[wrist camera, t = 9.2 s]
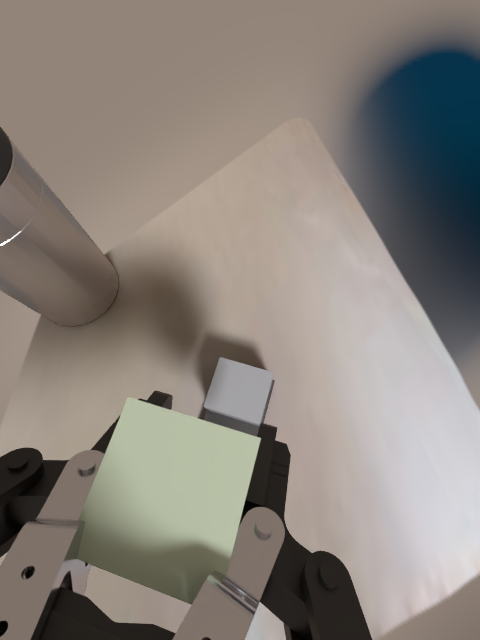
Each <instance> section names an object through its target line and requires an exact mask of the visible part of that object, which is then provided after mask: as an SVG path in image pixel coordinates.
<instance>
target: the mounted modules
mask: <svg viewBox="0 0 480 640" xmlns="http://www.w3.org/2000/svg"><path fill="white" fill-rule="evenodd" d="M273 375H274V372H270V371H267V370H263V369H260V368H257V367H253V366H250V365H246V364H243V363H239V362H236V361H233V360H229V359H226V358H222V357H220V358H219V361H218V364H217V367H216V370H215V373H214V376H213V379H212V382H211V385H210V388H209V391H208V394H207V397H206V400H205V403H204V406H203V407H205V408H206V409H208V410H209V411H212V412H216V413H219V414H222V415H225V416H228V417H231V418H234V419H238V420H241V421H244V422H247V423H250V424H253V425H256V426H260V423H261V420H262V416H263V412H264V409H265V405H266V401H267V397H268V394H269V390H270V386H271V383H272V379H273Z"/></svg>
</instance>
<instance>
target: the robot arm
mask: <svg viewBox="0 0 480 640" xmlns="http://www.w3.org/2000/svg"><path fill="white" fill-rule="evenodd" d="M118 286H119V281H118V275H117V272H116V270H115V268H114V267H113V265H112V264H111V263H110V262H109V260H108V259H107V258H106V257H105V255H104V254H103V253H102V252H101V251H100V249H99V248H98V247H97V246H96V244H95V243H94V242H93V240H92V239H91V238H90V237H89V235H88V234H87V233H86V232H85V231H84V229H83V228H82V227H81V226H80V225H79V223H78V222H77V221H76V219H75V218H74V217H73V216H72V214H71V213H70V212H69V211H68V210H67V208H66V207H65V206H64V205H63V203H62V202H61V201H60V200H59V199H58V197H57V196H56V195H55V194H54V192H53V191H52V190H51V189H50V187H49V186H48V185H47V184H46V183H45V182H44V180H43V179H42V178H41V176H40V175H39V174H38V173H37V172H36V170H35V169H34V168H33V167H32V165H31V164H30V163H29V162H28V160H27V159H26V158H25V157H24V156H23V154H22V153H21V152H20V151H19V149H18V148H17V147H16V146H15V144H14V143H13V142H12V141H11V140H10V138H9V137H8V136H7V135H6V133H5V132H4V131H3V130H2V128H1V127H0V290H1V291H2V292H4V293H6V294H8V295H9V296H11V297H13V298H14V299H16V300H18V301H19V302H21V303H23V304H24V305H26V306H28V307H29V308H31V309H33V310H34V311H36V312H38V313H39V314H41V315H43V316H45V317H46V318H48V319H50V320H51V321H53V322H55V323H57V324H60V325H63V326H78V325H83V324H86V323H89V322H91V321H93V320H95V319H97V318H98V317H100V316H101V315H102V314H103V313H105V312H106V310H107V309H108V308H109V307H110V306H111V304H112V303H113V301H114V300H115V297H116V295H117V292H118ZM139 400H140V401H143V402H146V403H150V404H153V405H156V406H159V407H162V408H166V409H169V410H171V408H172V395H169V394H166V393H163V392H159V391H154V392H153V393H152V395H151V396H150V397H149V398H148V400H147V401H146V400H143V399H139ZM120 416H121V415H120ZM120 416H119V417H118V419H117V420H116V422H114V423H113V424H112V426H111V427H110V428H109V429H108V430H107V431H106V433H105V434H104V435H103V436H102V437H101V438H100V440H99V441H98V442H97V443H96V444H95V445H94V447H93V448H92V449H91V450H87V451H83V452H80V453H78V454H76V455H75V456H73V457H72V458H71V459H70V460H63V461H62V460H43V458H42V454H41V453H40V451H38V450H36V449H34V448H20V449H16V450H14V451H11V452H9V453H7V454H5V455H4V456H2V457H0V557H1V556H3V555H4V554H5V553H7V552H8V551H9V552H8V553H7V555H6V557H5V559H4V560H3V562H2V564H1V566H0V640H245V637H246V635H247V632H248V630H249V627H250V625H251V622H252V620H253V617H254V614H255V612H256V609H257V607H258V604H259V602H261V603H262V604H263V605H264V606H265V607H267V608H268V609H269V610H270V611H271V612H272V613H273V614H275V615H276V616H277V617H278V618H279V619H280V620H281V621H282V622H284V629H285V635H286V640H372V638H371V635H370V632H369V629H368V626H367V623H366V620H365V618H364V615H363V612H362V609H361V606H360V603H359V600H358V597H357V594H356V592H355V589H354V586H353V583H352V580H351V577H350V575H349V572H348V570H347V569H346V567H345V566H344V564H343V563H342V562H341V561H340V560H339V559H338V558H337V557H336V556H334V555H333V554H331V553H329V552H325V551H317V552H314V553H311V552H310V551H308V550H307V549H306V548H304V547H303V546H302V545H300V544H299V543H298V542H297V541H296V540H295V539H294V538H293V537H292V536H291V535H290V533H289V531H288V530H287V527H286V524H285V520H284V511H285V502H286V493H287V483H288V474H289V465H290V456H291V455H290V453H289V450H288V447H287V444H285V443H282V442H278V441H275V438H276V432H277V427H274V426H271V425H267V424H264V423H260V426H259V430H258V434H257V437H259V438H261V440H260V444H259V448H258V452H257V456H256V460H255V464H254V468H253V472H252V476H251V480H250V484H249V488H248V492H247V496H246V500H245V504H244V507H243V511H242V515H241V519H240V523H239V527H238V531H237V535H236V539H235V543H234V547H233V551H232V555H231V559H230V563H229V567H228V571H227V575H224V574H222V573H220V572H218V571H216V570H214V572H213V573H211V574H210V575H209V576H208V578H207V579H206V581H205V582H204V584H203V586H202V588H201V589H200V591H199V593H198V595H197V597H196V598H195V600H194V602H193V604H192V606H191V607H190V609H189V611H188V613H187V614H186V616H185V618H184V620H183V622H182V623H181V625H180V627H179V629H178V631H177V632H176V633H173V632H171V631H168V630H166V629H164V628H161V627H159V626H156V625H154V624H135V623H116V622H113V621H112V620H111V619H110V618H109V617H108V616H107V615H105V614H104V613H103V612H102V611H101V610H100V609H99V608H98V607H97V606H96V605H95V604H94V603H93V602H92V601H91V600H90V599H89V598H88V597H86V596H84V595H85V591H86V585H87V579H88V575H89V571H90V568H91V564H88V563H86V562H83V561H81V560H78V559H77V556H78V552H79V548H80V543H81V539H82V535H83V530H84V526H85V522H86V521H81V520H78V519H79V517H80V514H81V512H82V509H83V507H84V504H85V502H86V499H87V497H88V495H89V492H90V490H91V487H92V485H93V482H94V480H95V477H96V475H97V472H98V470H99V467H100V465H101V462H102V460H103V457H104V455H105V453H106V450H107V448H108V445H109V443H110V440H111V438H112V435H113V433H114V430H115V428H116V425H117V423H118V420H119V418H120Z"/></svg>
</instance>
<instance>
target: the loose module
mask: <svg viewBox="0 0 480 640" xmlns="http://www.w3.org/2000/svg"><path fill="white" fill-rule="evenodd" d="M260 440H261V438H259V437H256V436H253V435H249V434H246V433H243V432H240V431H236V430H233V429H230V428H227V427H224V426H220V425H217V424H214V423H211V422H208V421H204V420H201V419H198V418H195V417H191V416H188V415H185V414H182V413H179V412H175V411H172V410H169V409H166V408H162V407H159V406H156V405H153V404H150V403H146V402H143V401H140V400H137V399H134V398H130V397H128V398H127V401H126V403H125V406H124V408H123V411H122V413H121V416H120V418H119V420H118V423H117V425H116V428H115V430H114V433H113V435H112V438H111V440H110V443H109V445H108V448H107V450H106V453H105V455H104V457H103V460H102V462H101V465H100V467H99V470H98V472H97V475H96V477H95V480H94V482H93V485H92V487H91V490H90V492H89V495H88V497H87V499H86V502H85V504H84V507H83V509H82V512H81V514H80V517H79V519H78V520H81V521H86V522H85V526H84V530H83V535H82V539H81V543H80V548H79V552H78V556H77V559H78V560H81V561H83V562H86V563H88V564H91V565H93V566H96V567H98V568H101V569H103V570H106V571H108V572H111V573H113V574H116V575H118V576H121V577H123V578H126V579H129V580H131V581H134V582H136V583H139V584H141V585H144V586H146V587H149V588H151V589H154V590H156V591H159V592H161V593H164V594H166V595H169V596H171V597H174V598H177V599H179V600H182V601H184V602H187V603H189V604H193V602H194V600H195V598H196V597H197V595H198V593H199V591H200V589H201V588H202V586H203V584H204V582H205V581H206V579H207V578H208V576H209V575H210V574H211V573H213V572H214V570H216V571H218V572H220V573H222V574H224V575H227V571H228V567H229V563H230V559H231V555H232V551H233V547H234V543H235V539H236V535H237V531H238V527H239V523H240V519H241V515H242V511H243V507H244V504H245V500H246V496H247V492H248V488H249V484H250V480H251V476H252V472H253V468H254V464H255V460H256V456H257V452H258V448H259V444H260Z"/></svg>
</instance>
